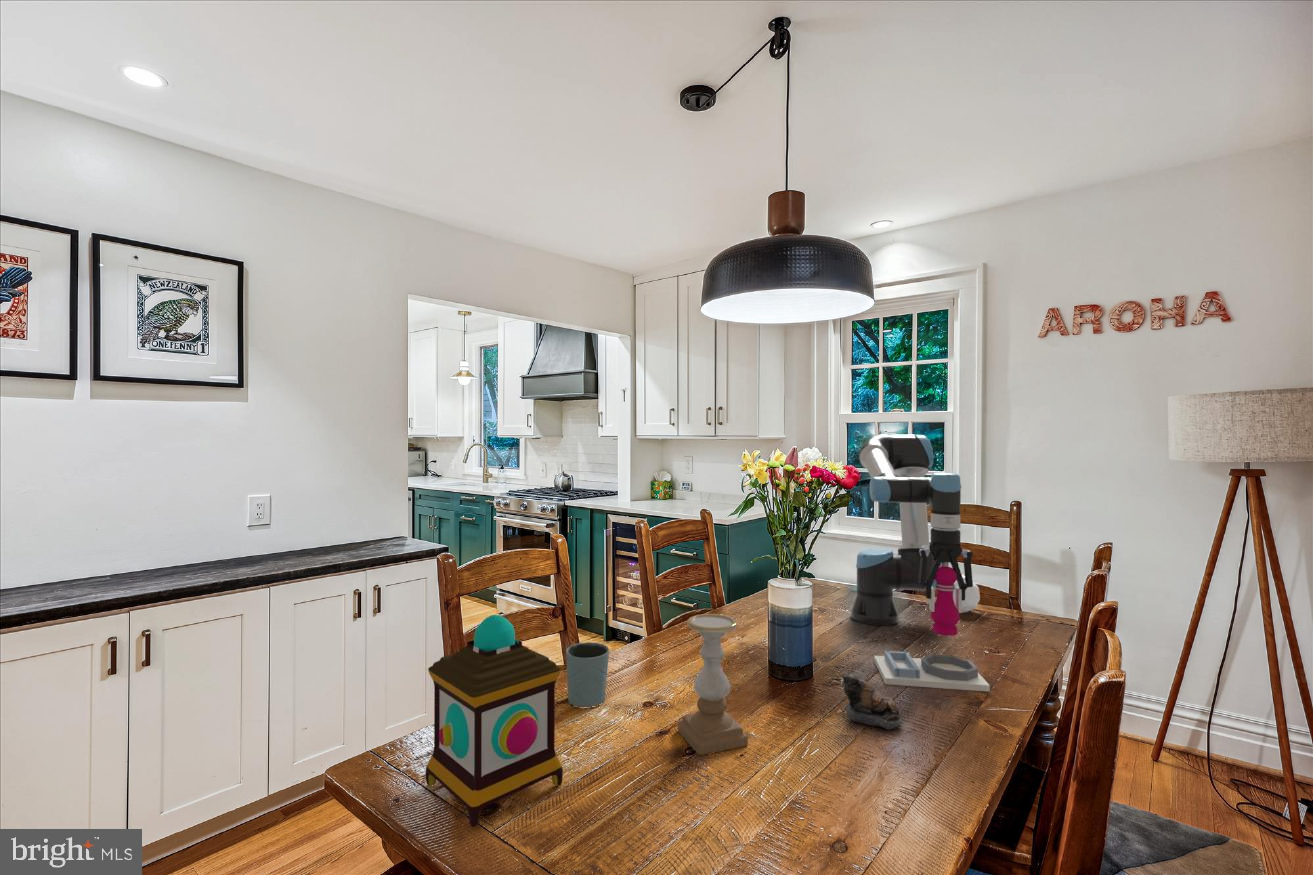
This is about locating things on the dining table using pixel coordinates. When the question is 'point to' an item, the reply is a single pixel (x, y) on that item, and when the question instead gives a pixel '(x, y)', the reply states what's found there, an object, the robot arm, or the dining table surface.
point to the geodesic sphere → (968, 596)
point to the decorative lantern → (493, 718)
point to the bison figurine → (869, 704)
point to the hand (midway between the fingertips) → (945, 610)
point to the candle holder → (712, 692)
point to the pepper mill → (945, 602)
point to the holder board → (928, 677)
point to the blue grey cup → (587, 673)
